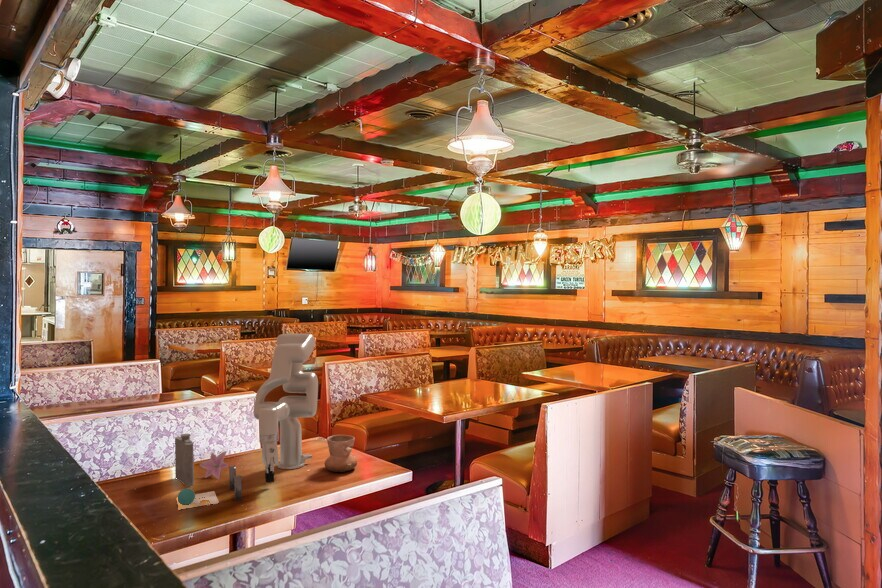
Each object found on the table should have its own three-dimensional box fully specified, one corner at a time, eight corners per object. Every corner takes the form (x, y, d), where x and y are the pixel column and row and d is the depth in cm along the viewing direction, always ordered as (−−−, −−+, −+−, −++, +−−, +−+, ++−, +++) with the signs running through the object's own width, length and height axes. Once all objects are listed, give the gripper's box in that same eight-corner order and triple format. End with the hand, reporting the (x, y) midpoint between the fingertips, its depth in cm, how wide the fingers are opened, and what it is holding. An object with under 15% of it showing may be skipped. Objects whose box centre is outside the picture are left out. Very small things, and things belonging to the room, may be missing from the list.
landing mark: (214, 491, 226) (214, 491, 226) (218, 503, 214) (218, 502, 214) (175, 498, 219) (175, 497, 219) (178, 510, 207) (178, 510, 207)
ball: (177, 504, 214) (194, 500, 217) (179, 509, 209) (196, 504, 212) (175, 488, 214) (192, 484, 217) (177, 492, 209) (195, 488, 212)
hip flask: (174, 478, 242) (173, 431, 242) (184, 476, 245) (183, 429, 245) (186, 488, 230) (186, 439, 230) (197, 485, 233) (196, 437, 233)
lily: (198, 476, 247) (193, 461, 242) (221, 460, 255) (217, 444, 250) (215, 490, 241) (210, 474, 236) (238, 472, 249) (234, 457, 244)
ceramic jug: (364, 471, 250) (364, 438, 250) (334, 477, 242) (334, 444, 242) (345, 461, 265) (345, 431, 265) (316, 467, 256) (316, 436, 256)
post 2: (241, 497, 219) (240, 474, 219) (242, 500, 217) (242, 476, 217) (234, 499, 218) (233, 475, 218) (235, 501, 216) (234, 477, 216)
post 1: (235, 487, 231) (235, 465, 231) (236, 489, 229) (236, 467, 228) (228, 488, 230) (228, 466, 229) (229, 490, 227) (229, 468, 227)
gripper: (282, 440, 225) (283, 486, 226) (274, 431, 238) (275, 474, 239) (263, 443, 221) (264, 489, 222) (255, 433, 234) (256, 477, 235)
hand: (269, 481), depth 230 cm, fingers closed
